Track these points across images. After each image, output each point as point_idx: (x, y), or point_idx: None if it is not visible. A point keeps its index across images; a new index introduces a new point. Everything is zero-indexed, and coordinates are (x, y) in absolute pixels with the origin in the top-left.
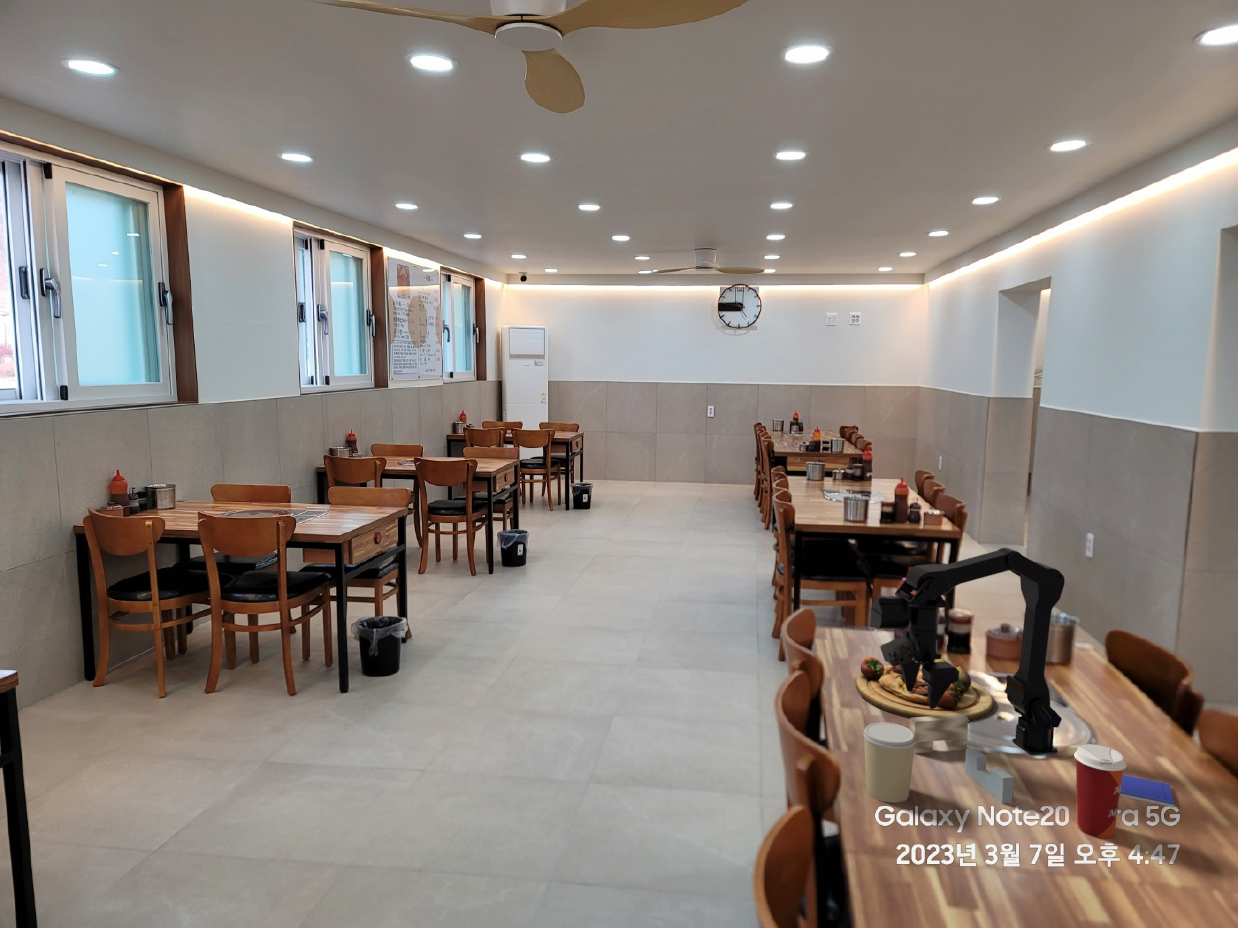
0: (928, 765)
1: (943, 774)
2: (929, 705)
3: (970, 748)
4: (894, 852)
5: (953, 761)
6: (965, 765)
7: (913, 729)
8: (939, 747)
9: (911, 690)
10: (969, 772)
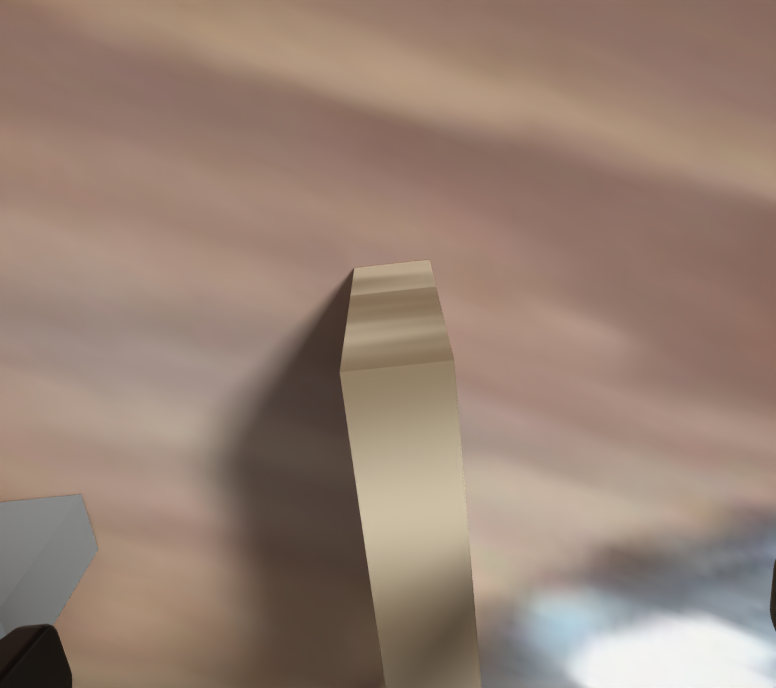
0: (162, 299)
1: (31, 348)
2: (5, 648)
3: None
4: None
5: (234, 486)
6: (57, 523)
7: (372, 329)
8: None
9: (774, 612)
10: (21, 513)
